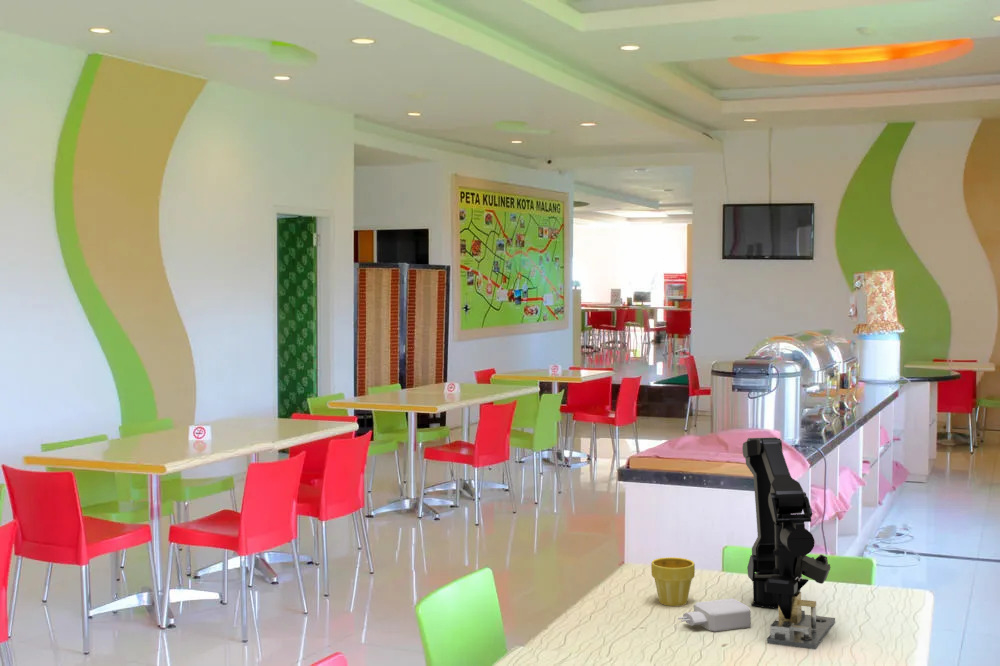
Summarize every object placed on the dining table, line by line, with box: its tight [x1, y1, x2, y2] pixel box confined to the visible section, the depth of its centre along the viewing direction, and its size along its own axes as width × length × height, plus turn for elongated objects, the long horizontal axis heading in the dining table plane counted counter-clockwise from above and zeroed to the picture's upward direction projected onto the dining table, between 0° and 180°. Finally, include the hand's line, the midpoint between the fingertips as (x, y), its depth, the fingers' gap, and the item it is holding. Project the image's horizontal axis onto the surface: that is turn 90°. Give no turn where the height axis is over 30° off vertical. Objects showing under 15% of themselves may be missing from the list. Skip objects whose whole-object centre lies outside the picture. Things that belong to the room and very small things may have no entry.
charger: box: [677, 597, 752, 633], centre depth 236 cm, size 5×9×15 cm
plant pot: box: [650, 556, 696, 607], centre depth 255 cm, size 10×10×10 cm
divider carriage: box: [778, 591, 817, 629], centre depth 230 cm, size 8×4×7 cm, turn 61°
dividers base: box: [766, 609, 836, 650], centre depth 229 cm, size 10×20×4 cm, turn 151°
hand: (790, 615), depth 231 cm, fingers closed on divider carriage, 4 cm apart
